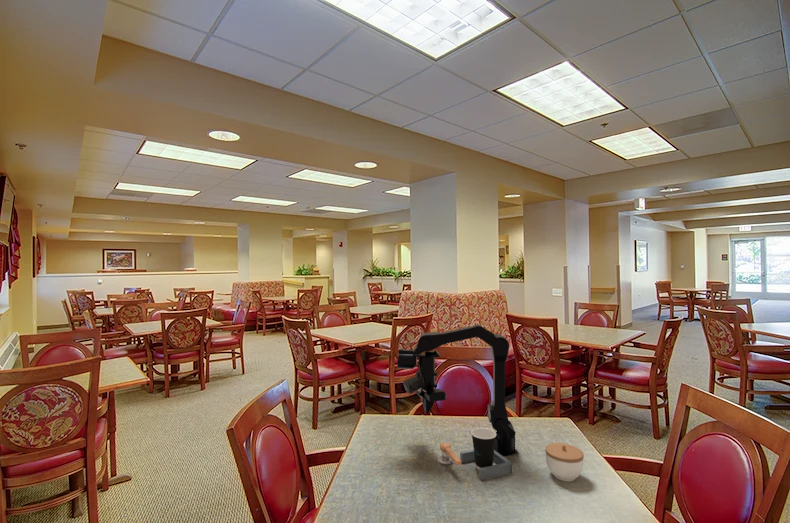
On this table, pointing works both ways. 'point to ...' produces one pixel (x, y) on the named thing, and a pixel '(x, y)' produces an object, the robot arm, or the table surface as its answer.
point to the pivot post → (445, 459)
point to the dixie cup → (483, 446)
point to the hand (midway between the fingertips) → (427, 413)
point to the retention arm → (450, 453)
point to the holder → (491, 471)
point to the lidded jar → (564, 461)
